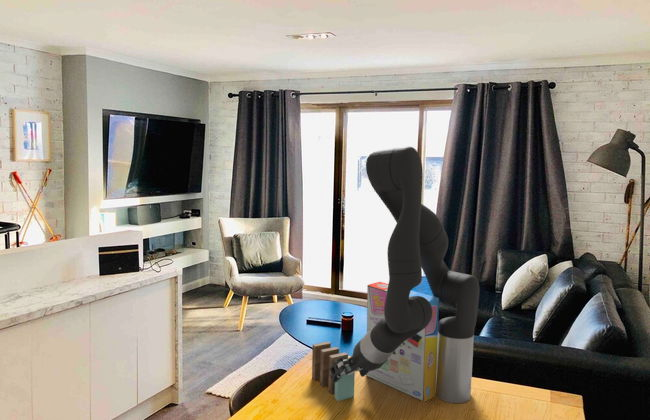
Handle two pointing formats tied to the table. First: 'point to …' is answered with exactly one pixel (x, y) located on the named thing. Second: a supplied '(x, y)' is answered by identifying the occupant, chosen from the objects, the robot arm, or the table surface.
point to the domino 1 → (318, 358)
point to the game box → (407, 349)
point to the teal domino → (345, 386)
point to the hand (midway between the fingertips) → (347, 376)
